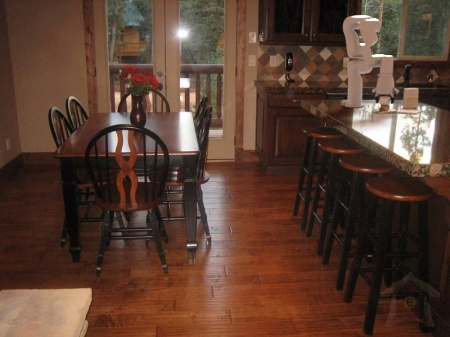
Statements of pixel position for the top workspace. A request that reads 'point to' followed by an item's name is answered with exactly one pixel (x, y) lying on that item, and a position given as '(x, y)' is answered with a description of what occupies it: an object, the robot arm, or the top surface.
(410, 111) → the mat
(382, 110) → the tan round plate
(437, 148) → the top surface
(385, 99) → the cap
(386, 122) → the top surface
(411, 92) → the supplement box
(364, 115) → the top surface
